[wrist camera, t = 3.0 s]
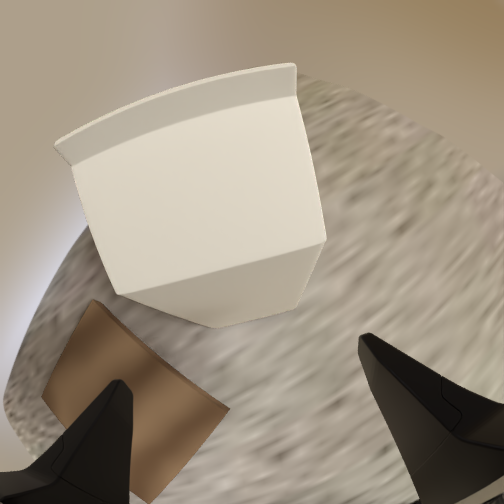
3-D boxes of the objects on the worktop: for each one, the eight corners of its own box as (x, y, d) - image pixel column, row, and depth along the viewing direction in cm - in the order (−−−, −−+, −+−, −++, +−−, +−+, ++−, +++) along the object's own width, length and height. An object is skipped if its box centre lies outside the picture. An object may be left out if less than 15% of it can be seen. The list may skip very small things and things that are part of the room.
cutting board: (230, 408, 20) (226, 412, 18) (155, 498, 17) (149, 504, 15) (101, 302, 24) (92, 299, 23) (49, 396, 21) (41, 396, 19)
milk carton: (296, 309, 22) (360, 160, 5) (214, 329, 22) (31, 257, 5) (274, 233, 25) (260, 22, 7) (198, 253, 25) (76, 83, 7)
